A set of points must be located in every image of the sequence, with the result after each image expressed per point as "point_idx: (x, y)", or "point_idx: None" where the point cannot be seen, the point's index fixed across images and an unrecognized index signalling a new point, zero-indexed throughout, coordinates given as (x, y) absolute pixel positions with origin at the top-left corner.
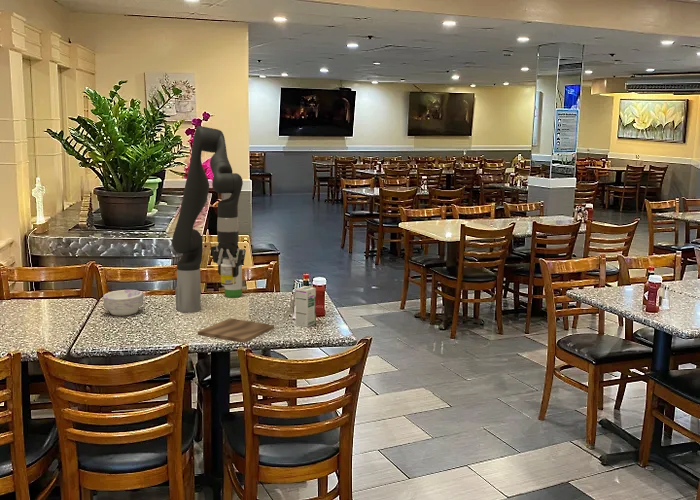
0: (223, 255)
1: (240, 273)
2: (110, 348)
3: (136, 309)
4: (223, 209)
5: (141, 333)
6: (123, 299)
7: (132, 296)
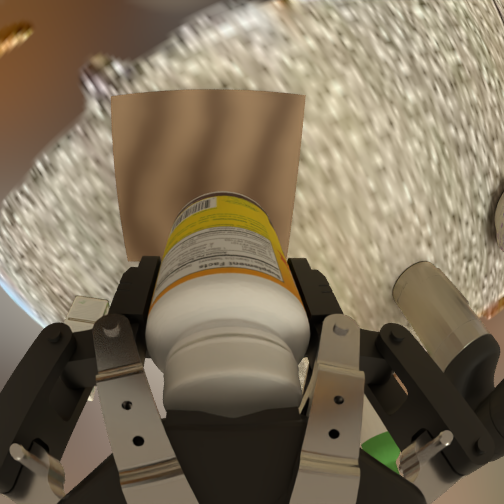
0: (291, 430)
1: None
2: None
3: (498, 214)
4: None
5: (440, 67)
6: None
7: None
